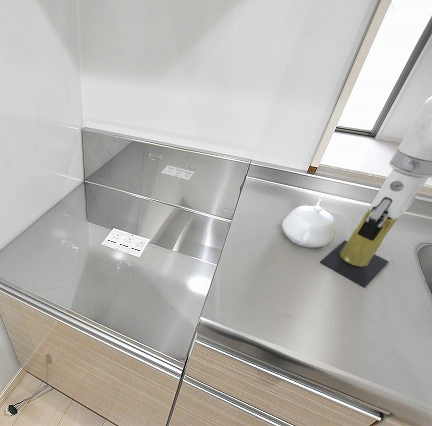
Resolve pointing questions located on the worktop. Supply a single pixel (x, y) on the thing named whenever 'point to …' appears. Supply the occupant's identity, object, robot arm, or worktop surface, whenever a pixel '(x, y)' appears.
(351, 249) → the vase
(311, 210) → the white garlic bulb
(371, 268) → the mat
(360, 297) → the worktop surface
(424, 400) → the worktop surface
